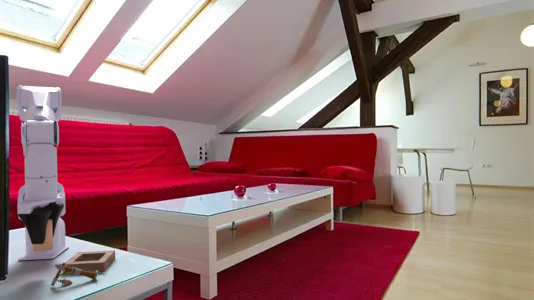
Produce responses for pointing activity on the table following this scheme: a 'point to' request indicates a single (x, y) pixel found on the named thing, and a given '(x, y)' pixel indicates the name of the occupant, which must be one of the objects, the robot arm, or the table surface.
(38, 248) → the terracotta peg
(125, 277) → the table surface
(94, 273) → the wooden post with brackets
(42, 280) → the table surface
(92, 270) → the walnut socket collar
